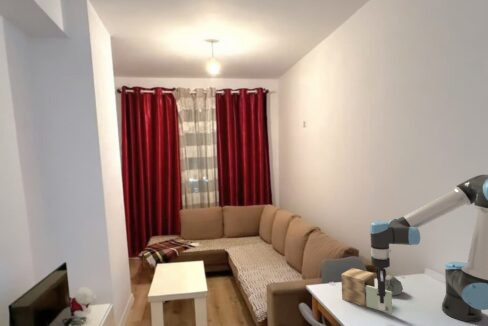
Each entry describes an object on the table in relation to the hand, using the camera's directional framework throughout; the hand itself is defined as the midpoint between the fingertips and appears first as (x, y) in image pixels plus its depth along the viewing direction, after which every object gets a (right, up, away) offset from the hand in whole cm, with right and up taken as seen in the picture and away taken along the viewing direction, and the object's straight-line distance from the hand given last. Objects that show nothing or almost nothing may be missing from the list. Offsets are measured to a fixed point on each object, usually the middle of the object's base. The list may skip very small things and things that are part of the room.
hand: (381, 308), depth 136 cm
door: (+2, -4, +8) cm, 9 cm away
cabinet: (-2, -5, +22) cm, 22 cm away
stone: (+18, -4, +27) cm, 33 cm away
